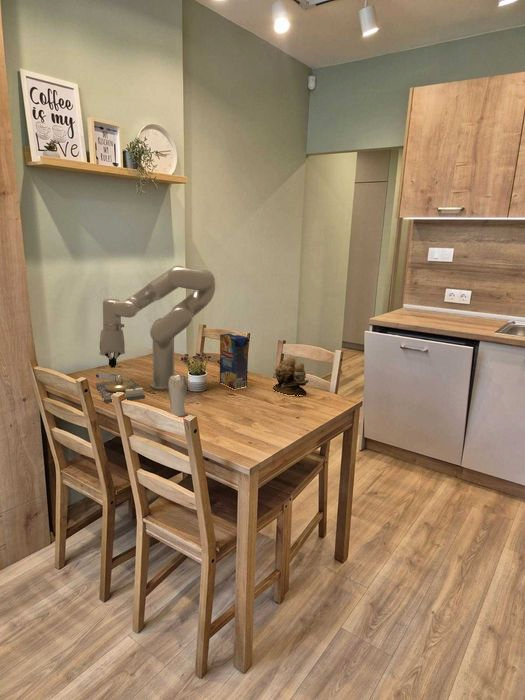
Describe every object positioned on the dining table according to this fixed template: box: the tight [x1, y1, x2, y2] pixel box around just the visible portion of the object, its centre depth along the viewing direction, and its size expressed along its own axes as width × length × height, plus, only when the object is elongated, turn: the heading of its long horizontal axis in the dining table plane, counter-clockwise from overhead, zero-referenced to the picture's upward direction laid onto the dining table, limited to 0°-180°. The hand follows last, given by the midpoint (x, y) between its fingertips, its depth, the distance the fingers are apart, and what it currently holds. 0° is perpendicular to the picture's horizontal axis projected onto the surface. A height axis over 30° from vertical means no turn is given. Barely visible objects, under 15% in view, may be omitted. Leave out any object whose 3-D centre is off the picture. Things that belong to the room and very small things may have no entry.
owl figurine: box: [272, 356, 310, 397], centre depth 202 cm, size 18×12×17 cm, turn 53°
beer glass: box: [167, 374, 188, 418], centre depth 171 cm, size 7×7×15 cm
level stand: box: [95, 378, 146, 403], centre depth 195 cm, size 16×24×4 cm, turn 28°
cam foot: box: [95, 372, 134, 393], centre depth 195 cm, size 18×12×6 cm
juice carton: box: [219, 332, 249, 389], centre depth 206 cm, size 12×8×24 cm, turn 39°
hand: (112, 367), depth 200 cm, fingers closed
